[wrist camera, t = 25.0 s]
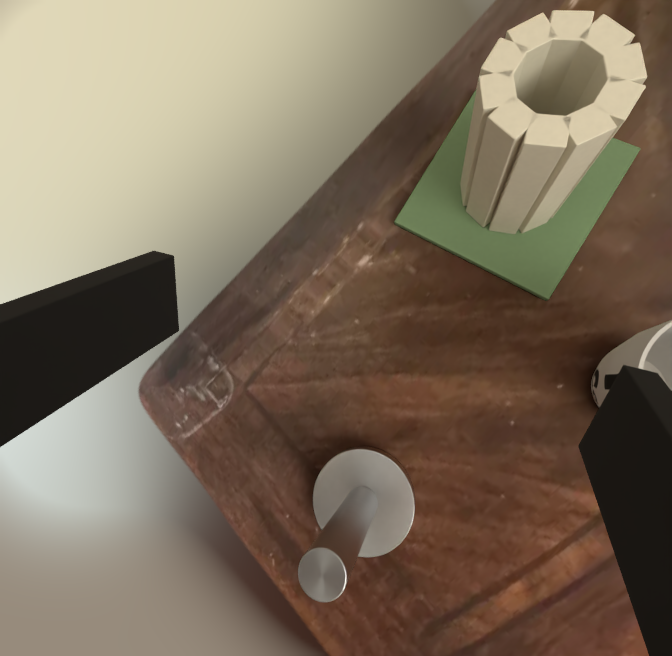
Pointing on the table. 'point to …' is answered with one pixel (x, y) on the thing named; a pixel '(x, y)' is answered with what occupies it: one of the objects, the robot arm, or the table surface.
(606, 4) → the table surface
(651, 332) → the cup
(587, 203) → the mat
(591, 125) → the cream slatted holder
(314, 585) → the stand
